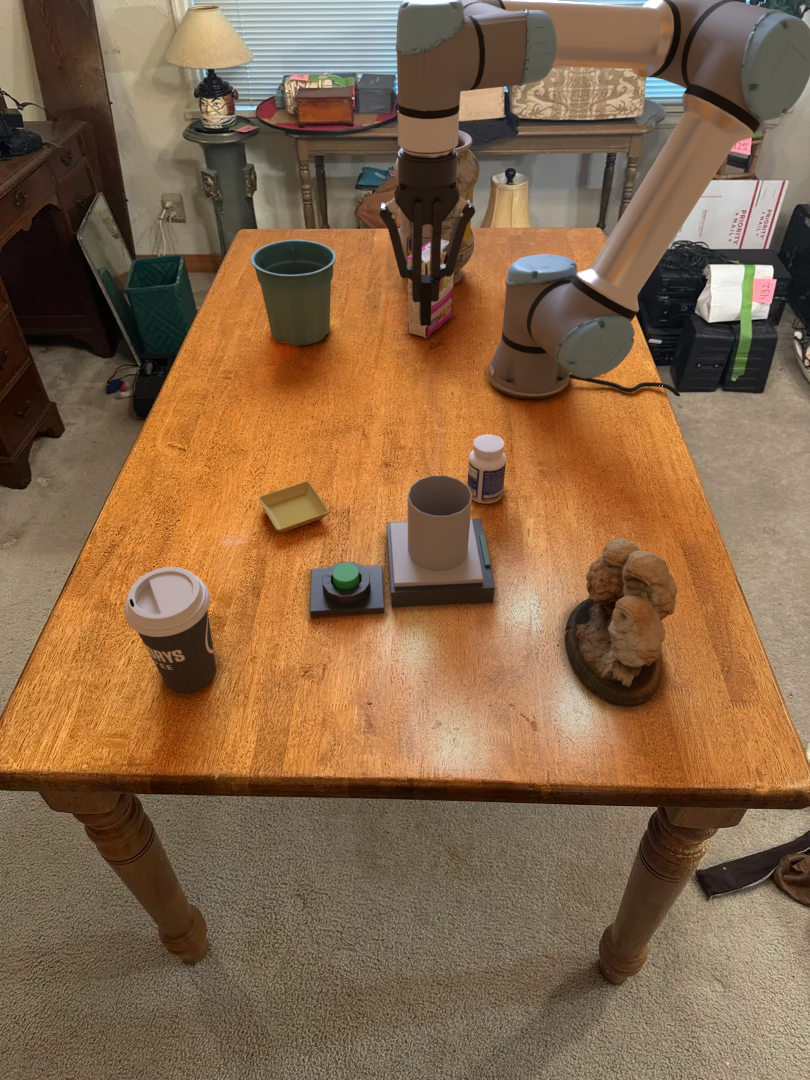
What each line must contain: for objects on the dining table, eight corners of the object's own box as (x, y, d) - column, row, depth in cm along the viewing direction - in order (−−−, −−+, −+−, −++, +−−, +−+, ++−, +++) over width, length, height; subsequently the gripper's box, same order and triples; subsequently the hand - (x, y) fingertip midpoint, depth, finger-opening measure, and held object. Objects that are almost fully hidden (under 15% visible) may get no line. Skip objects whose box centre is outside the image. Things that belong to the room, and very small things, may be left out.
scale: (479, 532, 114) (481, 513, 112) (493, 602, 104) (495, 583, 102) (386, 536, 114) (386, 518, 111) (391, 607, 104) (391, 588, 101)
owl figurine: (549, 601, 104) (567, 508, 93) (632, 594, 105) (660, 501, 94) (585, 712, 92) (611, 621, 80) (679, 703, 92) (719, 612, 81)
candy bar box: (433, 311, 165) (434, 236, 153) (453, 317, 163) (456, 241, 151) (405, 333, 158) (405, 256, 146) (426, 339, 156) (427, 262, 145)
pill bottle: (506, 486, 122) (512, 435, 115) (497, 508, 118) (503, 457, 111) (471, 478, 124) (475, 428, 117) (462, 500, 120) (465, 450, 113)
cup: (462, 575, 103) (466, 520, 96) (403, 566, 104) (402, 512, 97) (471, 533, 109) (475, 479, 102) (414, 525, 110) (415, 471, 103)
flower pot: (348, 316, 163) (344, 242, 152) (330, 355, 152) (323, 278, 140) (275, 310, 165) (265, 236, 154) (251, 348, 154) (238, 271, 142)
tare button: (359, 570, 105) (358, 562, 104) (359, 590, 103) (359, 581, 101) (333, 572, 105) (332, 563, 104) (333, 591, 103) (332, 582, 101)
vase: (474, 294, 170) (484, 150, 150) (395, 294, 171) (393, 150, 150) (470, 260, 183) (478, 123, 162) (396, 259, 184) (395, 123, 163)
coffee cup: (157, 644, 99) (128, 564, 89) (231, 639, 100) (210, 559, 89) (145, 706, 92) (112, 627, 82) (224, 700, 93) (202, 621, 83)
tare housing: (382, 570, 109) (381, 556, 107) (384, 613, 103) (384, 598, 101) (312, 574, 108) (310, 559, 106) (310, 617, 103) (308, 602, 100)
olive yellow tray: (278, 540, 113) (276, 530, 112) (258, 506, 119) (256, 496, 117) (331, 522, 116) (330, 512, 115) (310, 489, 122) (308, 479, 120)
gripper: (475, 137, 98) (466, 307, 115) (374, 139, 98) (379, 310, 114) (483, 156, 93) (472, 332, 109) (376, 159, 92) (381, 335, 109)
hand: (424, 320), depth 112 cm, fingers closed
